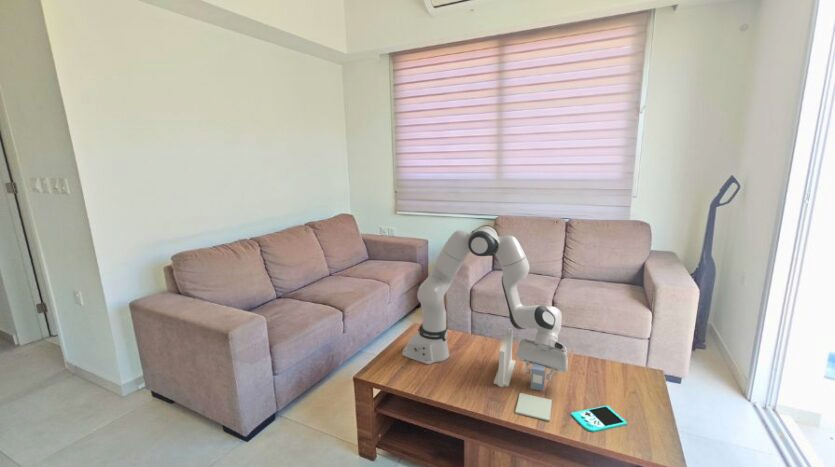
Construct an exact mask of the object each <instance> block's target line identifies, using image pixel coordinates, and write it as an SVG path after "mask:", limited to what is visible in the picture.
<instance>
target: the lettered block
mask: <svg viewBox="0 0 835 467" xmlns="http://www.w3.org/2000/svg"><path fill="white" fill-rule="evenodd" d="M545 379H546V366H545V365H541V364H537V363H534V362H533V364H532V365H531V372H530V389H532V390H537V391H540V392H544V391H545V383H546V381H545Z"/></svg>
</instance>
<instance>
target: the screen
mask: <svg viewBox="0 0 835 467" xmlns="http://www.w3.org/2000/svg"><path fill="white" fill-rule="evenodd" d="M513 333H514V328H511V327H508V329H507V331H506V333H505V336H504V338H503V341H502V343H501V345H500V348H499V350H498V351H499V353H498V354H499V355H498V369H497V371H496V375H495V378H494V380H493V384H494V385H497V386H498V387H499V388H500V387H501V388H504V387H507V388H509V386H510V384H511V379H512V376H513V372H514V369H515V366H516V359H513V357H512V356H513V335H514V334H513Z"/></svg>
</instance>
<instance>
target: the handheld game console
mask: <svg viewBox="0 0 835 467" xmlns="http://www.w3.org/2000/svg"><path fill="white" fill-rule="evenodd" d="M570 415H571V417H572V418H574V419H575V421H577V423H578V424H580V426H581V427H582V428H584V429H585V430H586V431H589V432H590V433H596V432H601V431H604V430H608V429H614V428H618V427H622V426H627V425H628V422H627V421H626V420H625V419H624V418H623V417H622V416H620V414H618V413H616V411H615V410H614V409H612V408H611V407H610V406H609V405H603V406H598V407H594V408H588V409H584V410H579V411H574V412H571V414H570Z"/></svg>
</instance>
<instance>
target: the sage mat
mask: <svg viewBox="0 0 835 467" xmlns="http://www.w3.org/2000/svg"><path fill="white" fill-rule="evenodd" d="M552 402H553V400H552V399H549V398H544V397H540V396H535V395H531V394H526V393H521V392H519V395H518V399H517V404H516V407H515V414H517V415H521V416H525V417H526V416H527V417H530V418H534V419H538V420H542V421H546V422H550V421H551V412H552V411H551V410H552V405H553V404H552Z"/></svg>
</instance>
